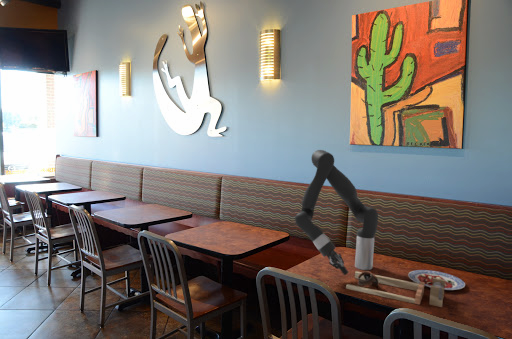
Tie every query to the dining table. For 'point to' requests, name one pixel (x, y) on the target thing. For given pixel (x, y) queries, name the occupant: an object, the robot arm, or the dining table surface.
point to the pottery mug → (368, 279)
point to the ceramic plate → (428, 276)
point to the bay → (392, 282)
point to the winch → (437, 292)
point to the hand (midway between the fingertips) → (346, 273)
